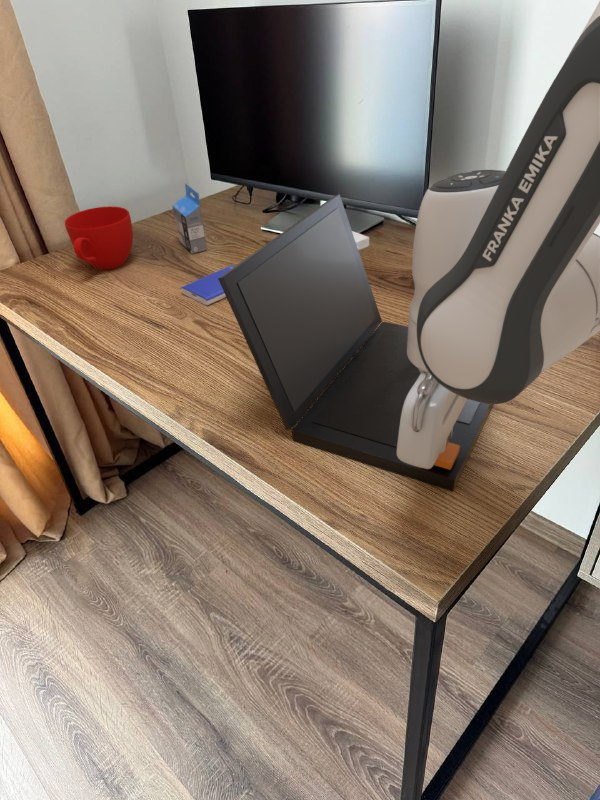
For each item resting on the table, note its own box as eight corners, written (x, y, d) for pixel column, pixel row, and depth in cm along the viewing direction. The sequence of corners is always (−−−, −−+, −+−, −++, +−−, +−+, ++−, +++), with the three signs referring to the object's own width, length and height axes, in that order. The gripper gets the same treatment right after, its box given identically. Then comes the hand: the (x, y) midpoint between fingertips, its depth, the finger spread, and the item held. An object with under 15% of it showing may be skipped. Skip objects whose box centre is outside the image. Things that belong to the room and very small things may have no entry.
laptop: (514, 358, 87) (516, 348, 86) (453, 491, 66) (454, 479, 65) (382, 331, 96) (382, 320, 95) (292, 440, 75) (291, 429, 74)
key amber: (459, 451, 68) (460, 445, 68) (450, 470, 66) (451, 463, 65) (431, 443, 70) (431, 437, 69) (421, 461, 67) (421, 454, 67)
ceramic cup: (57, 284, 118) (41, 236, 112) (95, 250, 131) (82, 206, 125) (117, 285, 116) (103, 237, 110) (149, 251, 129) (139, 206, 123)
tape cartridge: (178, 241, 132) (167, 186, 125) (194, 237, 134) (185, 182, 126) (191, 254, 126) (181, 197, 119) (208, 250, 127) (199, 193, 120)
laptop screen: (340, 193, 86) (335, 195, 86) (223, 277, 65) (217, 278, 66) (382, 321, 95) (377, 322, 95) (291, 429, 74) (286, 429, 75)
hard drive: (231, 264, 117) (180, 286, 110) (258, 275, 112) (206, 298, 106) (232, 271, 118) (181, 293, 111) (258, 282, 113) (207, 306, 106)
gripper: (451, 406, 50) (438, 515, 58) (508, 301, 64) (490, 402, 72) (382, 388, 53) (379, 495, 61) (451, 291, 67) (440, 389, 75)
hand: (440, 443), depth 67 cm, fingers closed
